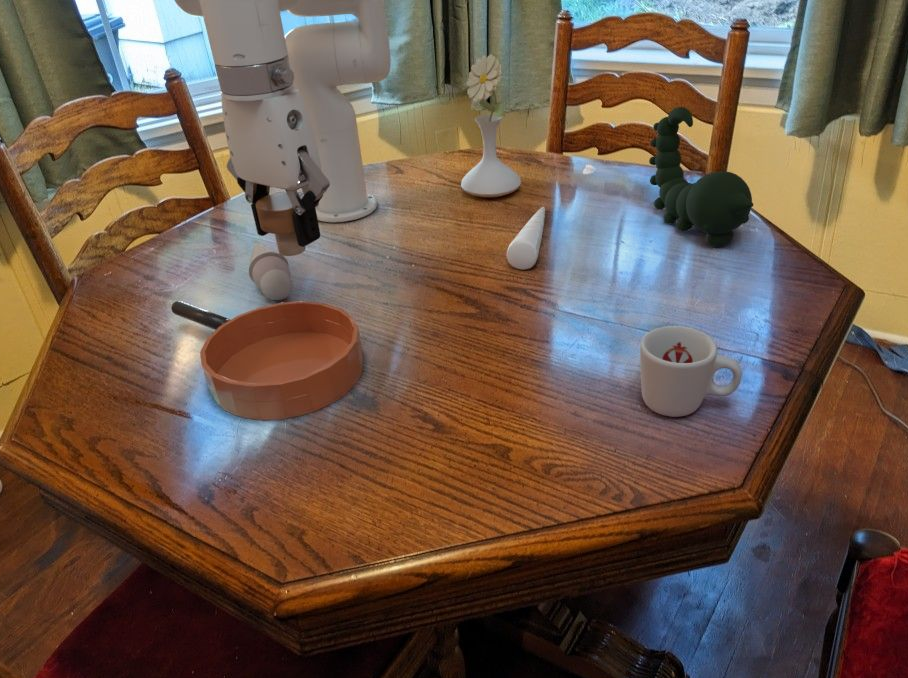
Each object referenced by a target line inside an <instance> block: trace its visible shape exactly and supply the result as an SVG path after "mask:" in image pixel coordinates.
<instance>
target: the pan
mask: <svg viewBox="0 0 908 678" xmlns="http://www.w3.org/2000/svg"><path fill="white" fill-rule="evenodd" d="M230 319H231V320H230V321H228V322H226V323H224V324H223V325H221V326H220V327H218V328H217V329H216V330H214V331H213V332H212V333H211V334H210V335H209V336H208V337H207V338H206V339H205V341H204V343H203V345H202V347H201V349H200V353H199V354H200V355H199V356H200V363H201V368H202V371H203V374H204V377H205V379H206V383H207V386H208V389H209V391H210V395H211V396H212V398H213V400H214V402H215V403H216V404H217V406H218V407H220V408H221V409H222V410H224V411H225V412H228V413H229V414H231V415H234V416H236V417H239V418H244V419H249V420H256V421H276V420H284V419H286V420H287V419H292V418H297V417H300V416H304V415H307V414H311V413H313V412H316V411H319V410H321V409H323V408H325V407H327V406H330V405H331V404H333V403H335V402H337V401H338V400H340V399H341V398H342V397H344V396H345V395H346V394H348V392H350V391H351V390H352V389H353V388H354V386H355V385H356V384H357V383H358V381H359V380H360V378H361V375H362V373H363V371H364V370H363V369H364V354H363V353H364V352H363V347H362V341H361V334H360V328H359V326H358V324H357V322H356V320H355V317H354V316H352V315H351V314H349V313H348V312H347V311H346V310H344V309H343V308H341V307H339V306H336V305H335V306H334V305H331V304H329V303H325V302H317V301H305V300H301V301H287V302H286V301H284V302H278V303H274V304H269V305H265V306H260V307H257V308H254V309H252V310H249V311H246V312H243V313H241V314H238V315H236V316H235V317H233V318H230Z"/></svg>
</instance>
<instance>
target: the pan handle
mask: <svg viewBox="0 0 908 678" xmlns="http://www.w3.org/2000/svg"><path fill="white" fill-rule="evenodd" d="M170 308H171V309H170V310H171V313H173V314H174V315H176V316H178V317H180V318H183V319H186V320H187V321H188V320H189V321H191V322H194V323H196V324H199V325H202V326H204V327H207V328H209V329H212V330H214V331H215V330H216V329H217V328H218V327H220V326H221V325H223V324H224V323H226V322H228V321H230V320H231V319H232V318H228V317H226V316H223V315H220V314H217V313H214V312H211V311H209V310H207V309H204V308H201V307H198V306H195V305H193V304H190V303H187V302H184V301H182V300H176V301H174V302H173V303H172V304H171V307H170Z"/></svg>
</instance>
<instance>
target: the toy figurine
mask: <svg viewBox="0 0 908 678" xmlns="http://www.w3.org/2000/svg"><path fill="white" fill-rule="evenodd" d="M683 122H684V123H685V124H686V125H687V126H688V127H689V128H692V127H693V126H694V118H693V115H692V112H691V110H689V109H688V108H687V107H684V106H676V107H674V108H672V109H671V110H670V111H669V113H668V116H665V117H662V118H661V119H660V120H659V121H658V122H654V124H653V126H652V127H653V128H652V129H653V130H654V131H655V132H656V133H657V134H658V135H657V136H656V137H654V138H652V139H651V141H650V145H651V146H652V148H655V149H656V150H657V153H656V155H655V156H651V157H650V158H649V160H648V163H649V165H651V166H655V167H656V169H657V170H656V171H655V174H653V175H652V176H650V179H649V183H650V185H653V186H657V187H659V197H656V199H654V201H653V206H654V208H655V209H656V210H659V211H660V210H663V209H665V211H666V212H665V213H664V215H663V220H664V223H665V224H668V225H671V224H674V223H675V226H676V228H677V230H678V231H679V232H682V233H685V232H688V231H690V230H691V229H692V228H693V227H695V228H697V229H698V230H699V231H701V232H703V233H706V237H705V239H706V242H707V244H708V245H709V246H711V247H723V246H726V245H728V244H730V243H732V241H733V239H734V237H735V232H734V231H735V230H736V229H738V228H739V227H741V226H742V225H744V224H746V223H748V222H749V220H750V212H751V210H752V208H753V207H754V203H753V196H752V192H751V189H750V187H749V185H748V183H746V181H745V180H744V179H743V178H742V176H740V175H738V174H737V173H734V172H731V171H726V170H719V171H718V170H717V171H712V172H709V173H707V174H705V175H703V176H701V177H700V178H698V180H697V181H695V182H693V183H691V182H689V181H687V179H685V173H684V169H683V167H682V166H681V162H682V154H681V152H680V151H679V148H680V145H681V138H680V137H681V136H679V134H678V132H679V129H680V124H681V123H683Z"/></svg>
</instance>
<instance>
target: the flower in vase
mask: <svg viewBox="0 0 908 678" xmlns="http://www.w3.org/2000/svg"><path fill="white" fill-rule="evenodd" d="M502 67H503V66H502V64H500V61H499V59H498V58H496V56H495V55H493V54H492V53H490V54H489V55H487V56H486V55H485V54H484V55H482V56H481V58H478V59H477V60H476V64H472V65H471V67H470V69H471V70H470V72H469V73H468V79H467V82H466V86H467V87H468V88H467V96H468V97H469V99H473V102H474V103H477V102H478V104H479V105H480V106H481V107H483V108H484V109H485V110H487V111H489V112H490V113H484V114H480V115H477V116H475V117H474V121H475V122H476V124H477V125H478V127H479V129H480V132H481V136H482V143H483V152H482V153H483V154H482V158H481V160H480V161H479V162H478V163H477V164H476V165H474V167H472V168H471V169H470V170H469V171H468V172H467V173H466V174H465V175H464V176H463V177H462V180H461V183H460V186H461V189H462V190H463V191H464V192H465V193H467V194H468V195H471V196H475V197H480V198H498V197H502V196H503V197H504V196H505V195H509V194H511V193H513V192H515V191H517V190H518V189H519V187H520V186H521V184H522V179H521V177H520V175H519V174H518V173H517V172H516V170H514V169H513V168H511V167H510V166H508V165H507V164H505V163H504V162H503V161H502V160H500V159H499V156H498V155H497V154H498V153H497V146H496V145H497V144H496V141H497V131H498V129H499V125H500V123H501V121H502V119H503V117H506V113H505V110H504V109H505V108H504V104H503V102H502V101H498V102H497V95H496V92H495V91H496V90H497V86H498V84H500V82H501V80H502V79H501V75H502ZM491 96H493V99H494V102H493V106H492V104H491V103H490V102H488V101H486V100H488V99H489V97H491Z"/></svg>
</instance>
